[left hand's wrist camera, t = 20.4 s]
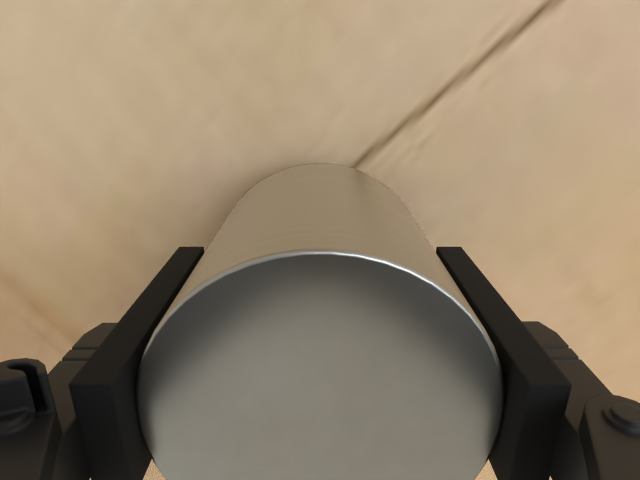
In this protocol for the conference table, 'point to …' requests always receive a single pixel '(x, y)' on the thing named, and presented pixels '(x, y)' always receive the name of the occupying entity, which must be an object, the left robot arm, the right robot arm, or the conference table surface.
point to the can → (320, 346)
